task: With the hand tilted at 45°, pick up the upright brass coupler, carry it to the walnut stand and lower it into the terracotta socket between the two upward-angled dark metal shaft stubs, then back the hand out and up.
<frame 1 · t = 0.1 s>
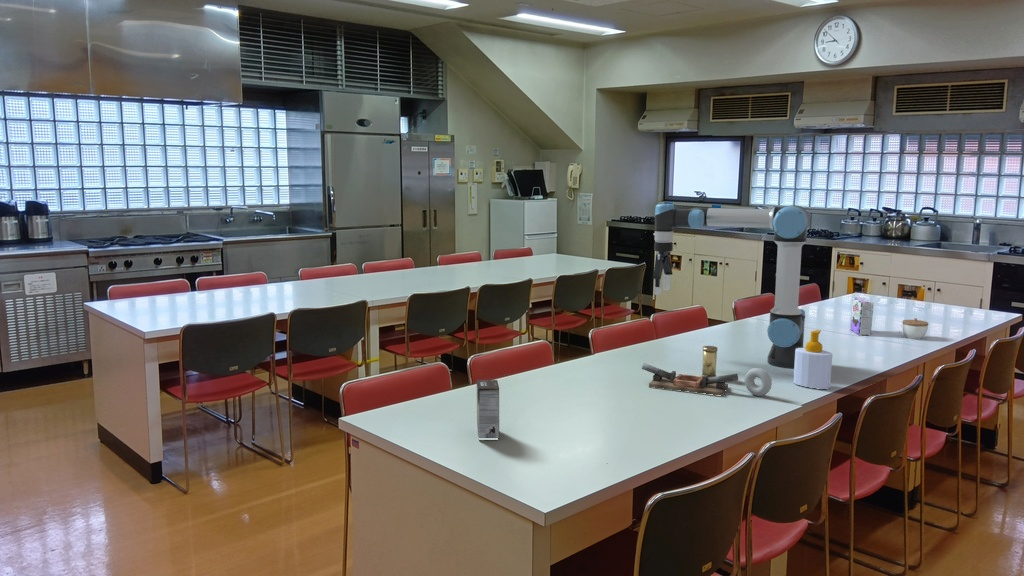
hand: (662, 292, 311), 28 cm above the table, tool pointing down, fingers open, 13 cm apart
shaft stand: (688, 387, 272), on the table
coupler: (708, 378, 285), on the table
candy box: (860, 333, 363), on the table
coffee box: (488, 436, 224), on the table
soap bottle: (811, 386, 274), on the table
lidded jar: (914, 338, 352), on the table
donut: (757, 396, 263), on the table
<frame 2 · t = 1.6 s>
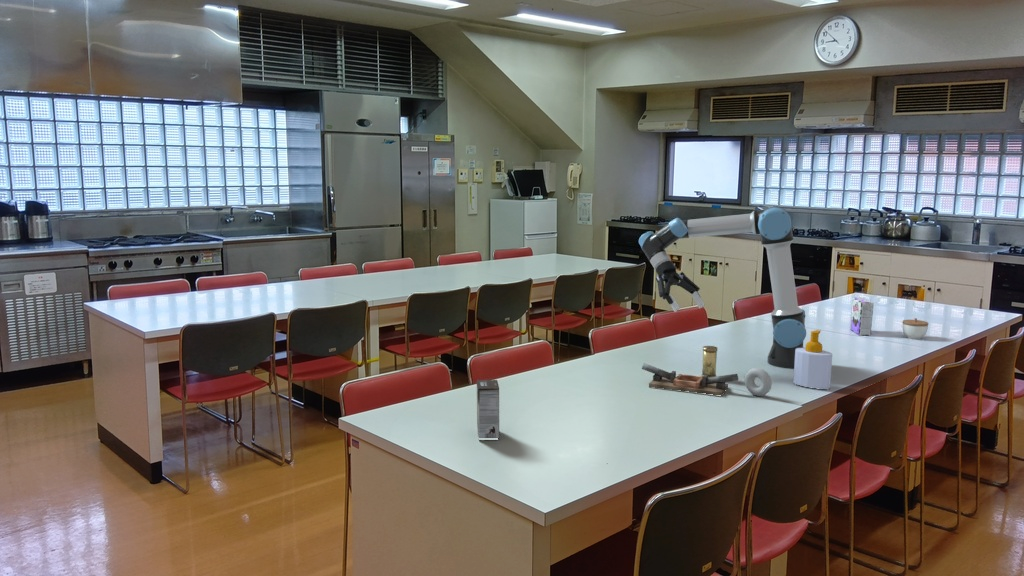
hand: (689, 308, 290), 25 cm above the table, tool tilted 45°, fingers open, 13 cm apart
nothing on the table moved.
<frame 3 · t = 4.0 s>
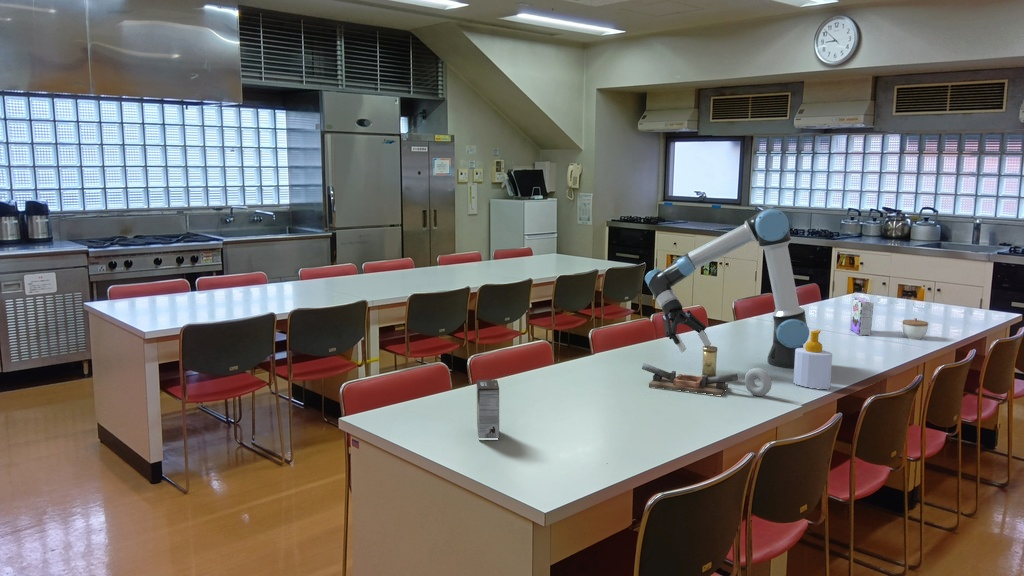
hand: (696, 348, 288), 11 cm above the table, tool tilted 45°, fingers open, 13 cm apart
nothing on the table moved.
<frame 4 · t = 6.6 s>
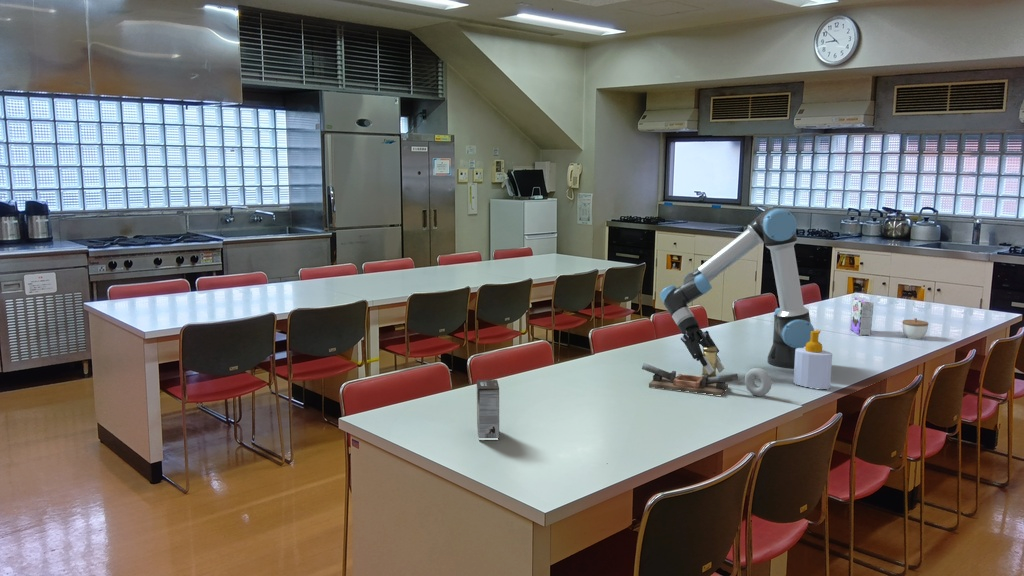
hand: (716, 371, 281), 3 cm above the table, tool tilted 45°, fingers closed on coupler, 5 cm apart
coupler: (708, 378, 285), on the table, touching gripper
everything else where it was.
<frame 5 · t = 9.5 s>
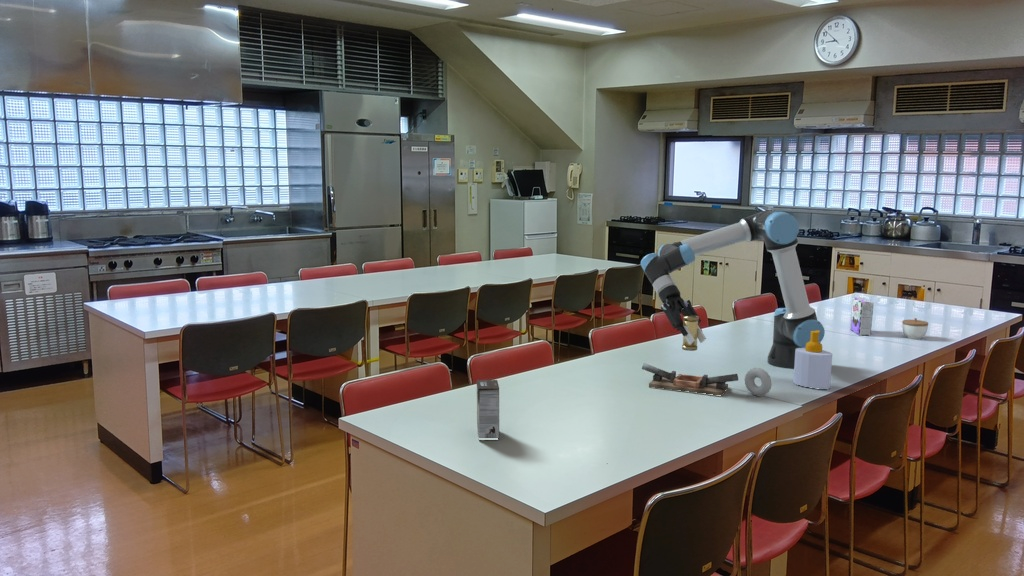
hand: (697, 341, 268), 18 cm above the table, tool tilted 45°, fingers closed on coupler, 5 cm apart
coupler: (689, 348, 272), point 14 cm above the table, touching gripper
everything else where it was.
when the fingers open (7 cm above the table, at t = 12.4 s): coupler drops 2 cm, resting on shaft stand.
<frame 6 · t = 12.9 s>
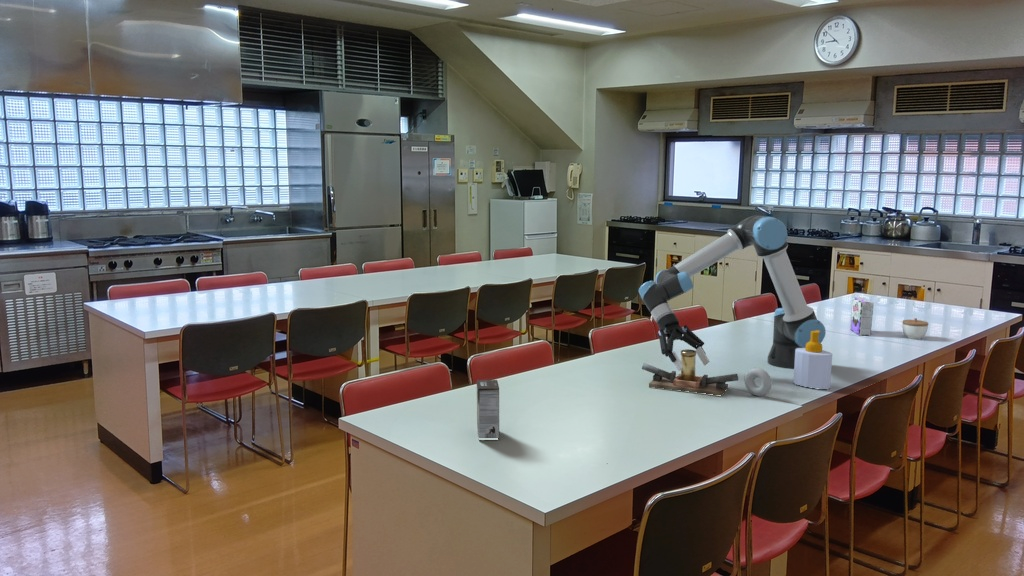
hand: (694, 366, 269), 9 cm above the table, tool tilted 45°, fingers open, 13 cm apart
coupler: (688, 383, 272), point 2 cm above the table, touching shaft stand
everything else where it was.
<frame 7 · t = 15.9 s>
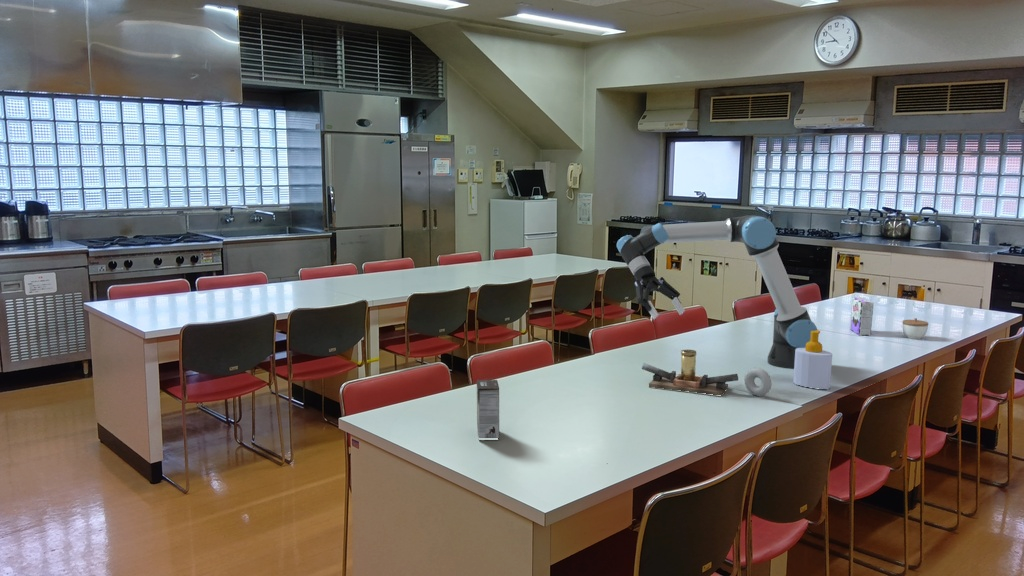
hand: (669, 315, 277), 25 cm above the table, tool tilted 45°, fingers open, 13 cm apart
nothing on the table moved.
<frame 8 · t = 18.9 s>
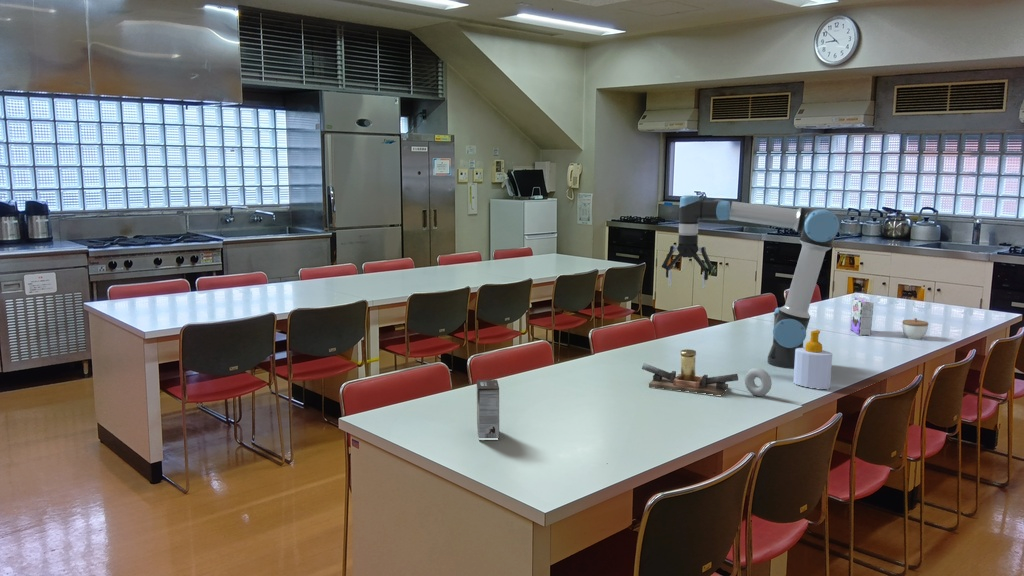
hand: (686, 286, 302), 32 cm above the table, tool pointing down, fingers open, 13 cm apart
nothing on the table moved.
at the end: coupler 0.2 cm off-centre on the shaft stand, point 1.6 cm above the shaft stand's base; coupler tilted 3°; the gripper is holding nothing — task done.
